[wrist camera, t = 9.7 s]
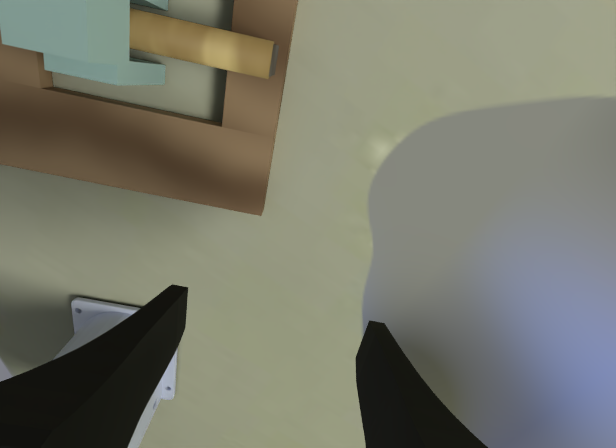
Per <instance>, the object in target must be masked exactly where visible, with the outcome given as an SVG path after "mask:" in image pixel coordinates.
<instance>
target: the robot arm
mask: <svg viewBox="0 0 616 448" xmlns="http://www.w3.org/2000/svg"><path fill="white" fill-rule="evenodd" d="M187 295H188V287H183V286H177V285H171V286H169V287H168V288H166V289H165V290H164V291H163V292H161V293H160V294H159V295H158V296H156V297H155V298H154V299H152V300H151V301H150V302H148V303H147V304H146V305H145V306H143V307H142V308H137V307H131V306H125V305H120V304H114V303H108V302H103V301H97V300H91V299H86V298H80V297H77V298H75V299H74V300H73V301H72V302H71V307H72V316H73V325H74V333H75V335H74V336H73V337H72V338H71V339H70V340H69V342H68V343H67V344H66V345H65V346H64V347H63V348H62V350H61V351H60V352H59V353H58V354H57V355H56V356H55V357H54V359H53V360H52V361H50V362H48V363H46V364H44V365H41V366H39V367H37V368H34V369H32V370H30V371H27V372H25V373H22V374H20V375H17V376H14V377H12V378H9V379H7V380H4V381H1V382H0V448H138V447H139V445H140V443H141V441H142V438H143V436H144V434H145V432H146V430H147V428H148V425H149V423H150V421H151V419H152V417H153V415H154V412H155V410H156V408H157V406H158V404H159V402H160V399H166V400H170V399H173V397H174V395H175V385H176V367H177V350H178V345H179V343H180V340H181V337H182V335H183V332H184V330H185V324H186V310H187ZM80 309H81V310H80ZM356 383H357V390H358V397H359V404H360V410H361V416H362V423H363V429H364V436H365V443H366V448H488V447H487V446H485V445H484V444H483V443H482V442H481V441H480V440H479V439H478V438H477V437H475V436H474V435H473V434H472V433H471V432H470V431H469V430H468V429H467V428H466V427H465V426H464V425H463V424H462V423H461V422H460V421H459V420H458V419H457V418H456V417H455V416H454V415H453V414H452V413H451V412H450V411H449V410H448V409H447V407H446V406H445V405H444V404H443V403H442V402H441V401H440V400H439V398H437V396H436V395H435V394H434V393H433V391H432V390H431V389H430V388H429V387H428V385H427V384H426V383H425V382H424V380H423V379H422V378H421V377H420V375H419V374H418V372H417V371H416V370H415V368H414V367H413V366H412V364H411V363H410V361H409V360H408V358H407V357H406V356H405V354H404V353H403V351H402V350H401V348H400V347H399V345H398V344H397V342H396V341H395V339H394V338H393V336H392V335H391V333H390V331H389V330H388V328H387V327H386V325H385V324H384V323H380V322H375V321H369V323H368V326H367V328H366V331H365V334H364V336H363V339H362V342H361V345H360V347H359V350H358V353H357V356H356Z"/></svg>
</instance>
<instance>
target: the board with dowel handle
mask: <svg viewBox="0 0 616 448" xmlns="http://www.w3.org/2000/svg"><path fill="white" fill-rule="evenodd" d="M297 4H298V0H234V7H233V17H232V28H231V31H227V30H223V29H218V28H214V27H210V26H205V25H201V24H197V23H192V22H188V21H184V20H179V19H175V18H171V17H167V16H162V15H158V14H154V13H149V12H145V11H141V10H136V9H132V8H130V36H129V48H131V49H136V50H140V51H144V52H149V53H153V54H158V55H162V56H167V57H171V58H176V59H180V60H184V61H189V62H193V63H198V64H202V65H207V66H211V67H216V68H220V69H224V70H227V79H226V90H225V100H224V110H223V121H222V123H219V122H214V121H210V120H205V119H200V118H196V117H191V116H186V115H182V114H177V113H172V112H168V111H163V110H158V109H154V108H149V107H144V106H140V105H135V104H130V103H126V102H121V101H116V100H112V99H107V98H102V97H98V96H93V95H89V94H84V93H79V92H75V91H70V90H65V89H61V88H56V87H53V81H52V71H48V70H45V68H44V55H43V53H42V52H37V51H32V50H28V49H23V48H19V47H14V46H9V45H5V44H2V38H1V30H0V164H2V165H7V166H12V167H17V168H22V169H28V170H33V171H38V172H43V173H48V174H53V175H58V176H63V177H68V178H73V179H78V180H83V181H88V182H93V183H98V184H103V185H108V186H113V187H118V188H123V189H128V190H133V191H138V192H143V193H148V194H153V195H158V196H163V197H169V198H174V199H179V200H184V201H189V202H194V203H199V204H204V205H209V206H214V207H219V208H224V209H229V210H234V211H239V212H244V213H249V214H254V215H259V216H261V215H262V212H263V210H264V204H265V198H266V192H267V186H268V179H269V173H270V167H271V161H272V155H273V149H274V143H275V137H276V131H277V125H278V119H279V113H280V107H281V101H282V95H283V89H284V83H285V76H286V70H287V64H288V58H289V52H290V46H291V40H292V34H293V28H294V22H295V16H296V10H297Z"/></svg>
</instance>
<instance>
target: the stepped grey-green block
mask: <svg viewBox="0 0 616 448" xmlns="http://www.w3.org/2000/svg"><path fill="white" fill-rule="evenodd" d="M130 2H131V3H135V4H139V5H144V6H148V7H152V8H157V9H161V10H165V11H168V0H0V30H1V38H2V44H5V45H9V46H14V47H19V48H23V49H28V50H32V51H37V52H42V53H43V55H44V68H45V70H48V71H52V72H57V73H62V74H66V75H71V76H76V77H80V78H85V79H90V80H94V81H99V82H104V83H108V84H113V85H163V84H165V65H163V64H158V63H153V62H149V61H144V60H140V59H135V58H131V57H129V36H130Z"/></svg>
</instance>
